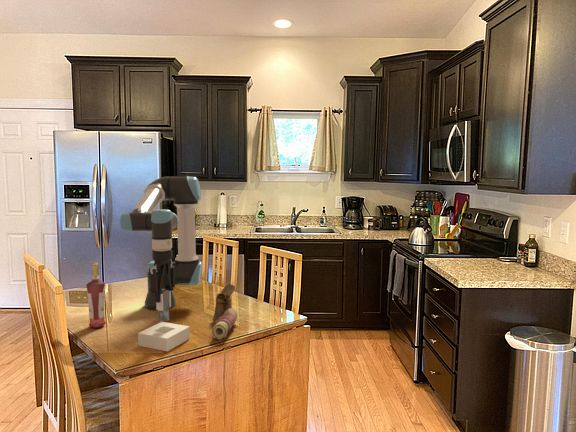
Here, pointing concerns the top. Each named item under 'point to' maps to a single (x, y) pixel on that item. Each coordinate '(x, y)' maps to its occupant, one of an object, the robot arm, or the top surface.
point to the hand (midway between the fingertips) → (163, 308)
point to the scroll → (224, 323)
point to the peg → (164, 306)
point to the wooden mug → (223, 301)
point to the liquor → (96, 299)
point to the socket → (164, 336)
